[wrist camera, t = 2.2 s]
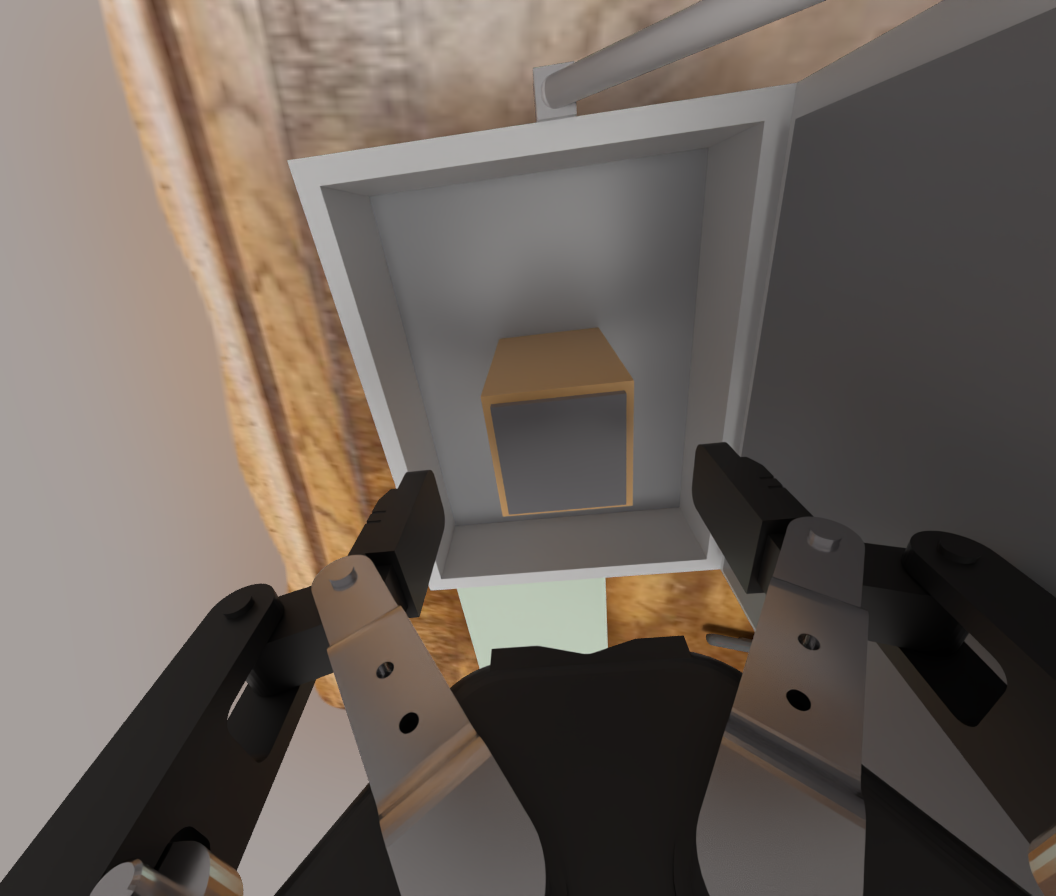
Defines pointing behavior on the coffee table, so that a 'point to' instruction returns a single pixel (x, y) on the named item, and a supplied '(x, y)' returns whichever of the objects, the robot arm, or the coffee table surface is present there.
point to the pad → (537, 616)
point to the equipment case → (742, 313)
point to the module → (560, 423)
